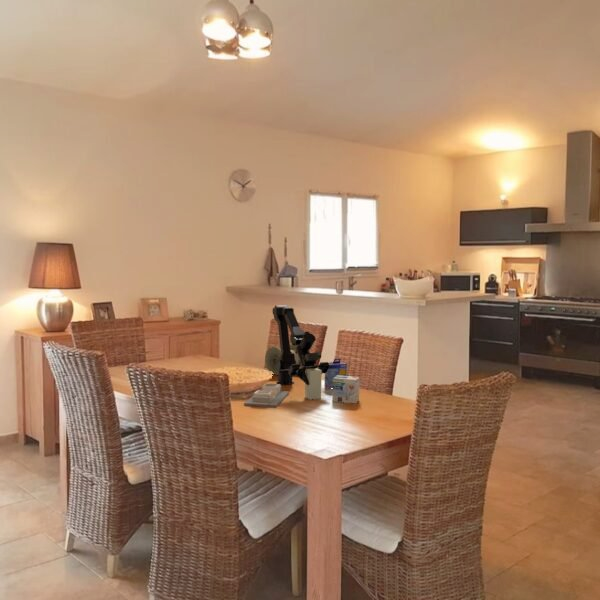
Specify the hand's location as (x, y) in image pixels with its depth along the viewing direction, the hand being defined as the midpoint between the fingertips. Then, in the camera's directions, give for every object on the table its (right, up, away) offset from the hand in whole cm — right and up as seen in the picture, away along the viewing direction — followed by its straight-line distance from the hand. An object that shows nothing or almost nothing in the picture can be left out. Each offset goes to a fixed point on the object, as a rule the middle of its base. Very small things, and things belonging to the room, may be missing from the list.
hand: (314, 384), depth 283 cm
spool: (-14, -2, +59) cm, 61 cm away
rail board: (-21, -7, -2) cm, 22 cm away
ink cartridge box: (+11, -5, +24) cm, 27 cm away
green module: (-1, -6, +2) cm, 7 cm away
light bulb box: (+14, -7, -3) cm, 16 cm away
